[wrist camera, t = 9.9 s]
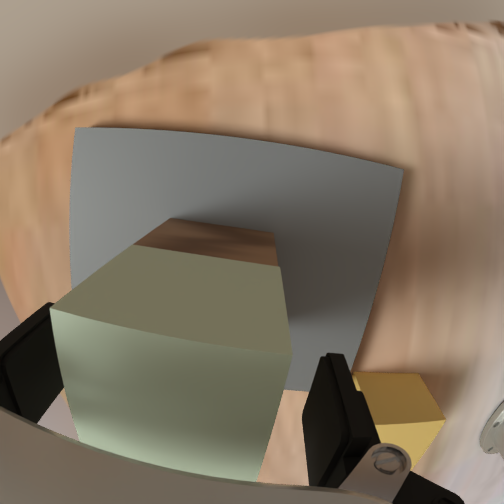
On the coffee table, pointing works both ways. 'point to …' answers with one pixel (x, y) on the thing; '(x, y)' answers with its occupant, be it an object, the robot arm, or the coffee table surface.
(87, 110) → the coffee table surface
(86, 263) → the slate base board
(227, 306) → the sage-green block
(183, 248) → the walnut base block
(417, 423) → the ochre block
